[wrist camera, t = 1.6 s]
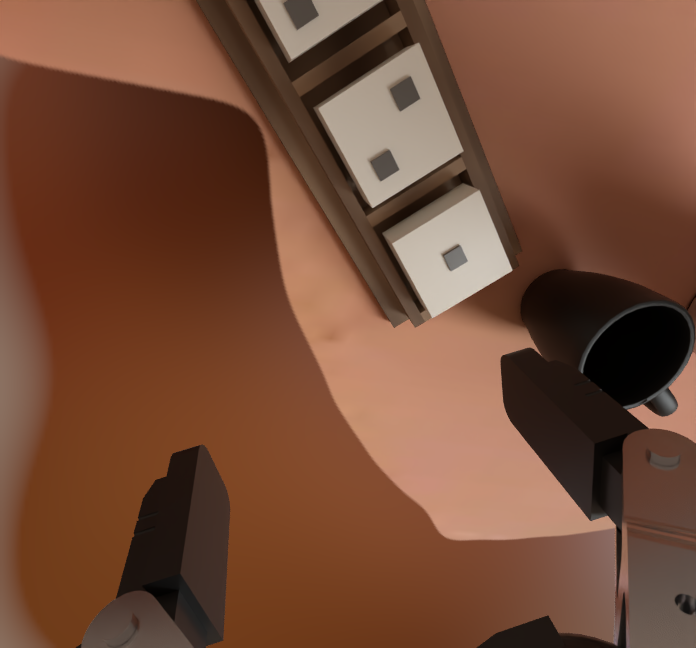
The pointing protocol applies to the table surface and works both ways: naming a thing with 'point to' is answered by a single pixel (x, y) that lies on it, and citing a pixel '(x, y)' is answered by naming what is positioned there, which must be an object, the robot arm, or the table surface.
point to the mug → (611, 334)
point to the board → (318, 150)
